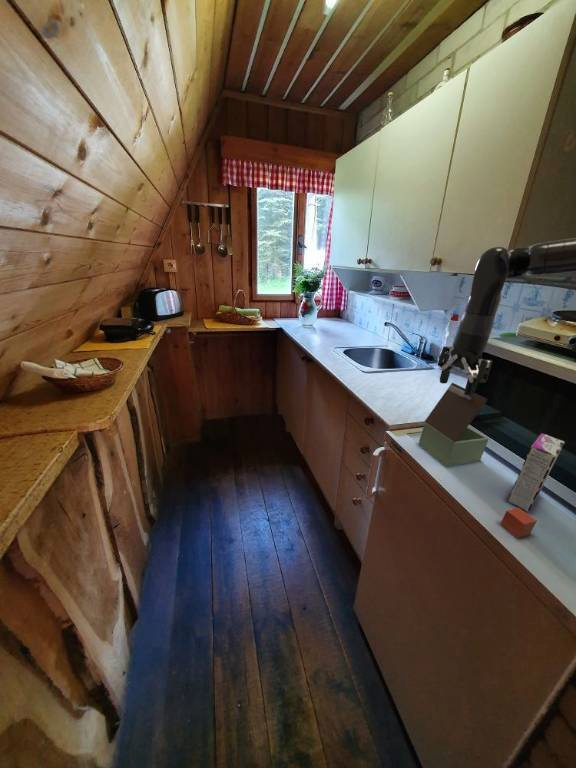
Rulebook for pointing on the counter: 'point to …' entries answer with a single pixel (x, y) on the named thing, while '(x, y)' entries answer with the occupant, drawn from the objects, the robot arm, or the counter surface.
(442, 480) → the counter surface
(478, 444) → the lidded olive box
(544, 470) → the candy bar box
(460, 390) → the lid
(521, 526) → the block
